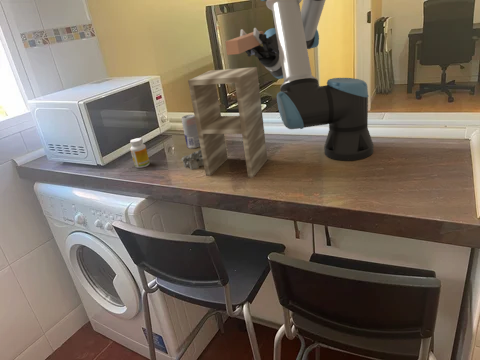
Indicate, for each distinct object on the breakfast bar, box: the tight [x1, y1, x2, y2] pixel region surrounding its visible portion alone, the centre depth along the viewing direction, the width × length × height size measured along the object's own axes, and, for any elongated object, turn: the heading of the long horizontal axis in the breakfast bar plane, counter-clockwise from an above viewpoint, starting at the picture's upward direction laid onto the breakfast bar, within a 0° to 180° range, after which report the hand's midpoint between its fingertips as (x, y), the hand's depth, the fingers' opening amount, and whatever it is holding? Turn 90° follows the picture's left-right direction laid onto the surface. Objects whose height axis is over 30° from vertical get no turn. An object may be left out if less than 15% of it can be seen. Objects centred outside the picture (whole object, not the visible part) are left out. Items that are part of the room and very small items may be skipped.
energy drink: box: [181, 114, 200, 150], centre depth 146 cm, size 5×5×12 cm
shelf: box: [187, 66, 268, 179], centre depth 117 cm, size 16×14×30 cm
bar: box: [225, 30, 265, 56], centre depth 126 cm, size 4×24×4 cm, turn 158°
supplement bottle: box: [129, 137, 151, 169], centre depth 135 cm, size 5×5×10 cm
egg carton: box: [180, 149, 204, 170], centre depth 131 cm, size 11×8×4 cm
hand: (247, 32), depth 126 cm, fingers closed on bar, 4 cm apart
